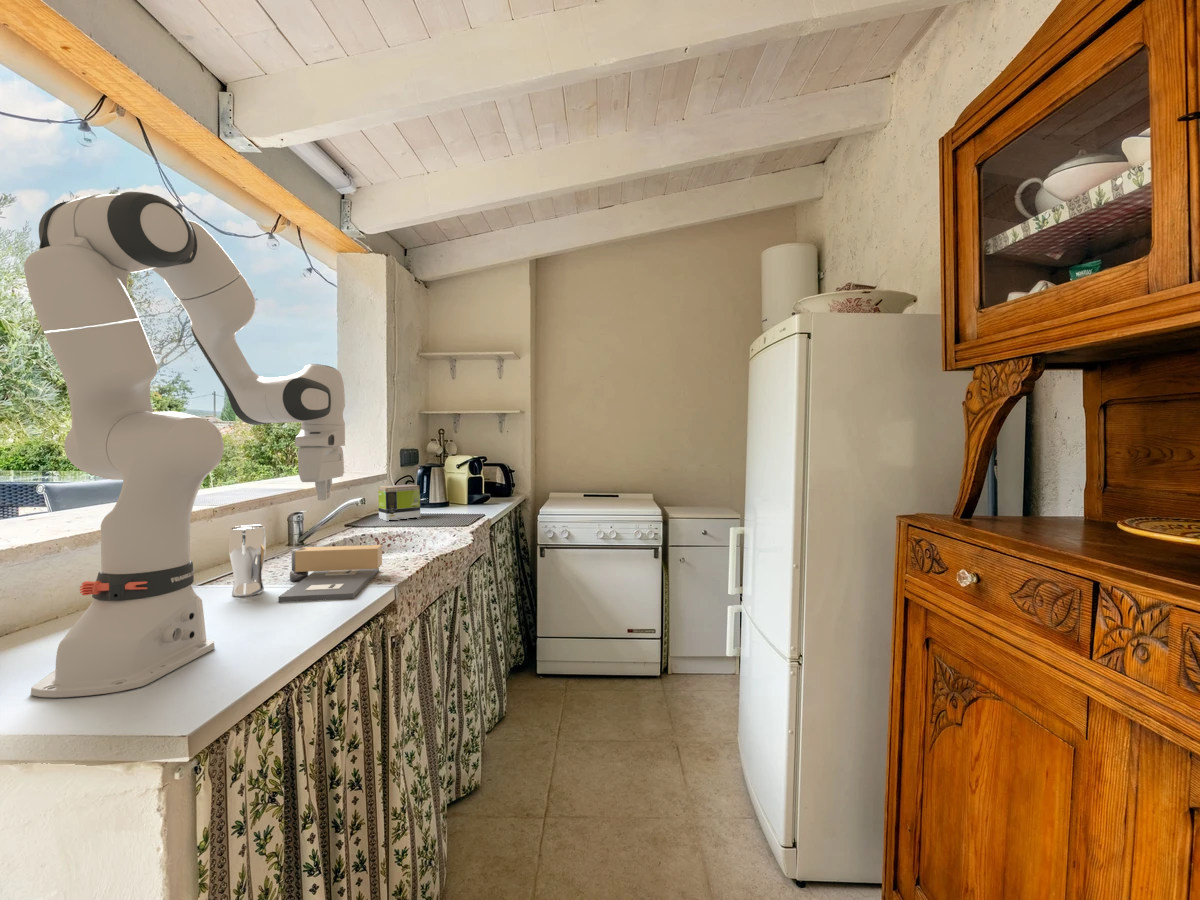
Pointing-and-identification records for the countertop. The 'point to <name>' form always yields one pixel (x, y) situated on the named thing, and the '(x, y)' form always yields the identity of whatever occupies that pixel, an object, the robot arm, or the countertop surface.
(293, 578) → the pivot post
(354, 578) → the label panel
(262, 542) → the beer glass
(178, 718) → the countertop surface
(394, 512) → the tea box
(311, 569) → the swing arm
